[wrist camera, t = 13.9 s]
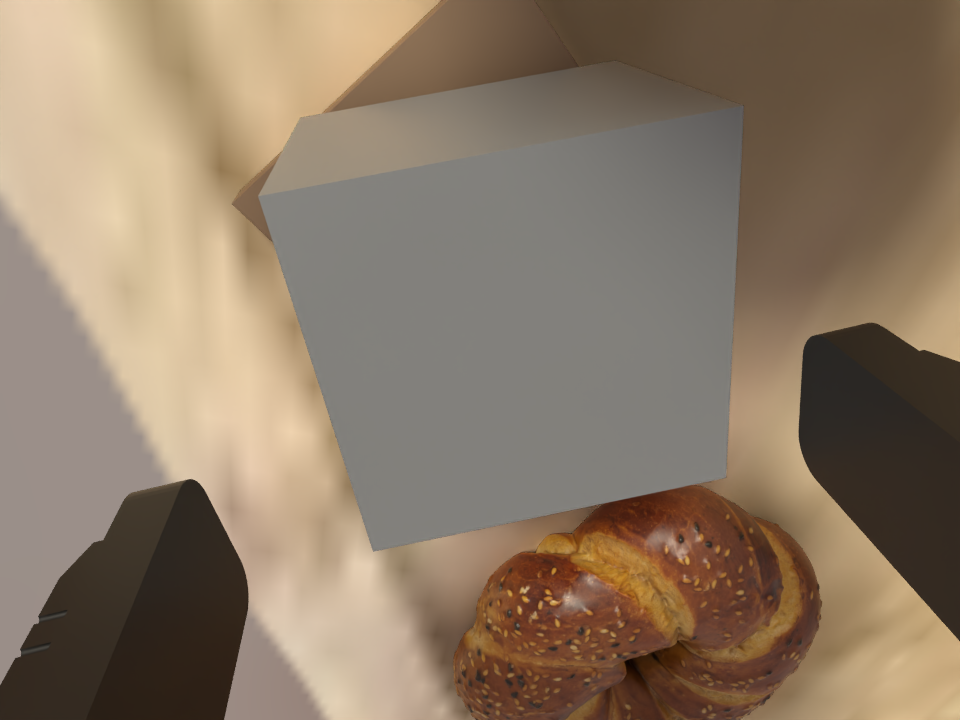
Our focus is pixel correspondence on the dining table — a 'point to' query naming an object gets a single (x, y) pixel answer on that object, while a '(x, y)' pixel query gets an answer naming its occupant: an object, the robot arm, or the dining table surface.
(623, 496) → the matte grey box
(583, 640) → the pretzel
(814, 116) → the dining table surface
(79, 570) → the robot arm
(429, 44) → the brown base with peg
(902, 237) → the dining table surface
